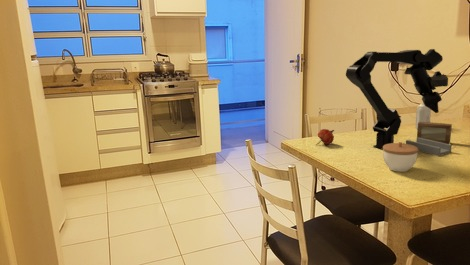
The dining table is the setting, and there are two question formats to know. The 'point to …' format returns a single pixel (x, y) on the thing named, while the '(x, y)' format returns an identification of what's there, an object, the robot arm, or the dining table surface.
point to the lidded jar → (400, 156)
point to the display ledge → (431, 146)
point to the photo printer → (422, 114)
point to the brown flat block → (434, 131)
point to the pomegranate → (326, 136)
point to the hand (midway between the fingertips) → (434, 107)
